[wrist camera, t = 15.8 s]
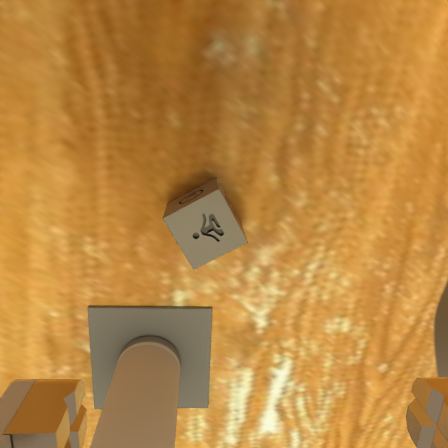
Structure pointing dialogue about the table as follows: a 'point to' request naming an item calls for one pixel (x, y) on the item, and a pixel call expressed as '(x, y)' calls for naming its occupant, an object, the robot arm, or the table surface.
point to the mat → (158, 327)
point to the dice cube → (204, 224)
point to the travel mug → (141, 397)
